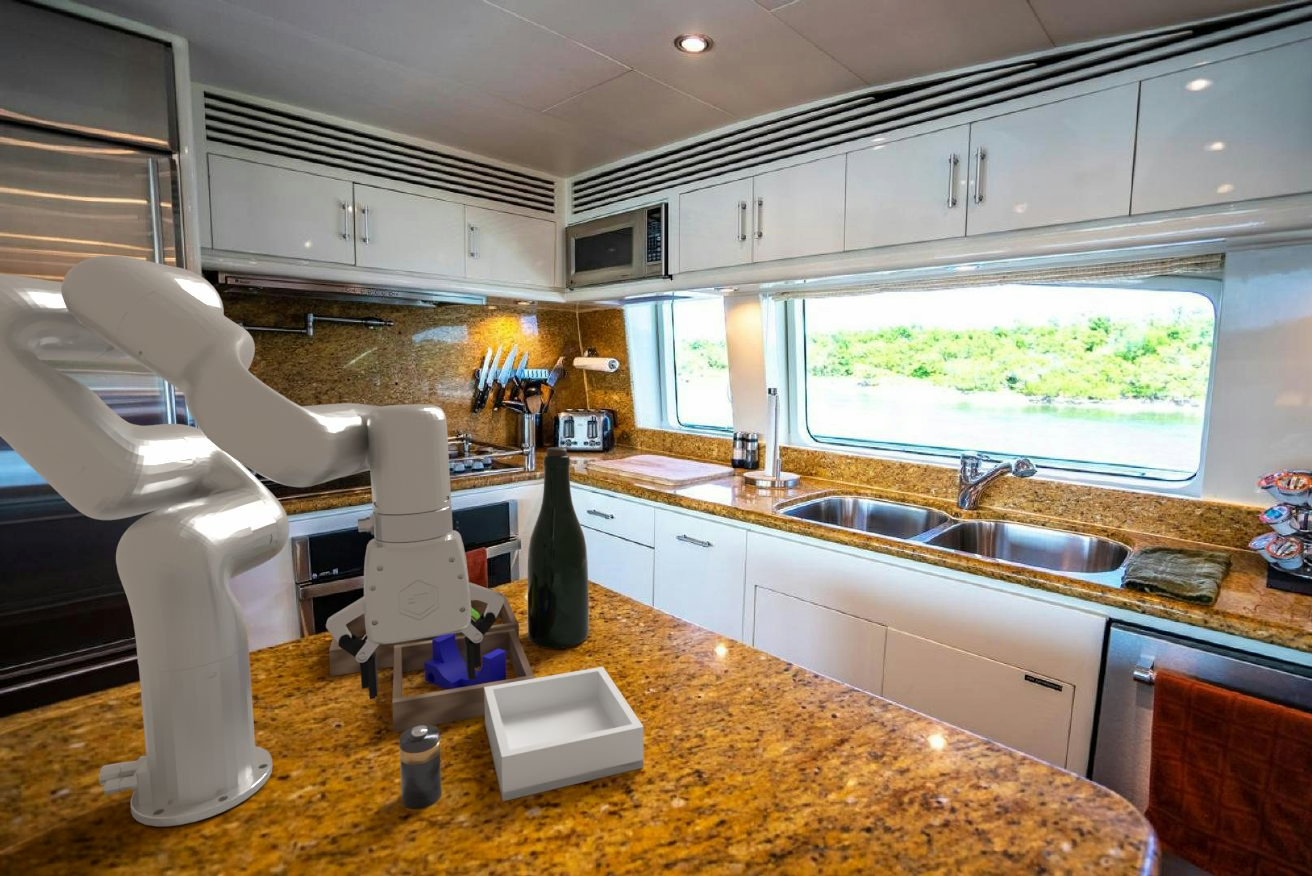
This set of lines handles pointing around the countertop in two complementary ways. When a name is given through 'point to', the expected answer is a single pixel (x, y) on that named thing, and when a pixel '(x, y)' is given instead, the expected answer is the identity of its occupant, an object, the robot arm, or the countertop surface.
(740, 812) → the countertop surface
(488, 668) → the cable clip
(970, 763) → the countertop surface
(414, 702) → the brown hollow square frame
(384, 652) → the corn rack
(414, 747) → the battery cell
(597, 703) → the bin
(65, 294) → the robot arm
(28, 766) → the countertop surface
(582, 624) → the dark green wine bottle
